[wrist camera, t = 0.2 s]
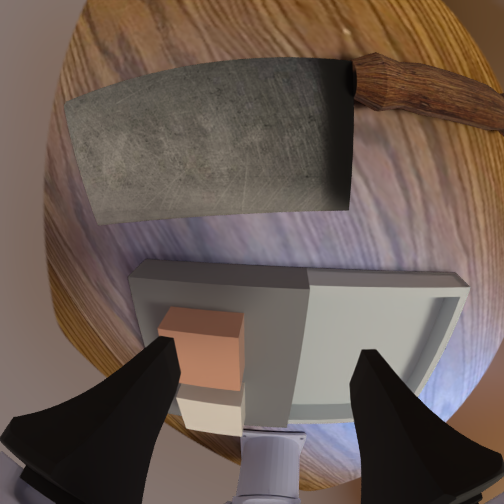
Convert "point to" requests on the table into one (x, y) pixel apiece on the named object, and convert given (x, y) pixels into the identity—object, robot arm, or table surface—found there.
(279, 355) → the board
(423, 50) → the table surface
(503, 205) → the table surface
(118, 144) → the meat cleaver
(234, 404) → the tile white
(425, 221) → the table surface
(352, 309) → the tray
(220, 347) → the tile terracotta
